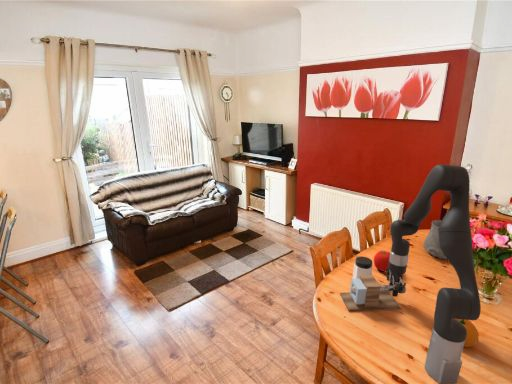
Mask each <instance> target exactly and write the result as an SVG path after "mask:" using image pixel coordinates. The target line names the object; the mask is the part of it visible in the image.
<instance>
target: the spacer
mask: <svg viewBox="0 0 512 384" xmlns="http://www.w3.org/2000/svg"><path fill="white" fill-rule="evenodd" d="M352 286H354V287H355V289H356V293H352V291H351V287H352ZM366 291H367V289H366V287H365V286H364V284H363V283H362V281H361V280H360V279H353V278H352V279H351V281H350V289H349V292H350V294H351V296H352V298H353V300H354V302H355V303H356V304H365V298H366Z"/></svg>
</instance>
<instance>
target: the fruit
mask: <svg viewBox="0 0 512 384" xmlns="http://www.w3.org/2000/svg"><path fill="white" fill-rule="evenodd" d="M454 319H455V318H454ZM456 320H457V321H459V322H460V323H461V324H463V326H464V327H465V328H466V330H467V336H466V339H465V343H464V347H463V348H471V347H473V346H475V345H476V344H477V343H478V341H479V337H480V334H479V331H478V328H477V327H476V326H475V324H474V323H472V322H471V320H464V319H456Z"/></svg>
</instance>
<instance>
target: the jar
mask: <svg viewBox="0 0 512 384" xmlns="http://www.w3.org/2000/svg"><path fill="white" fill-rule="evenodd" d="M352 272H353V273H352V279H359V278H360V275H372V274H373V260H372V259H371V258H369V257H367V256H361V255H360V256H357V257H356V258H355V262H354V264H353V271H352Z"/></svg>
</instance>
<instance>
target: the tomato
mask: <svg viewBox="0 0 512 384" xmlns="http://www.w3.org/2000/svg"><path fill="white" fill-rule="evenodd" d="M390 253H391V252H389V251H387V250H379V251H378V252H377V253H376V254H375V255H374V256H373V264H374V267H375V268H376V269H377V270H378V271H382V272H386V268H388V263H389V257H390Z"/></svg>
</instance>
